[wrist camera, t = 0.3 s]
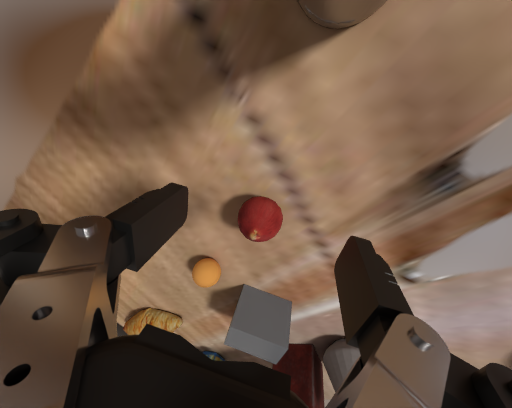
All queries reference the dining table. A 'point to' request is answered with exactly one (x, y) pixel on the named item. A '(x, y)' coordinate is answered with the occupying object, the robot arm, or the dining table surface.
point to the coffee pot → (339, 361)
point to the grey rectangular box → (260, 325)
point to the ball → (206, 272)
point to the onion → (260, 219)
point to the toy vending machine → (304, 373)
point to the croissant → (152, 321)
